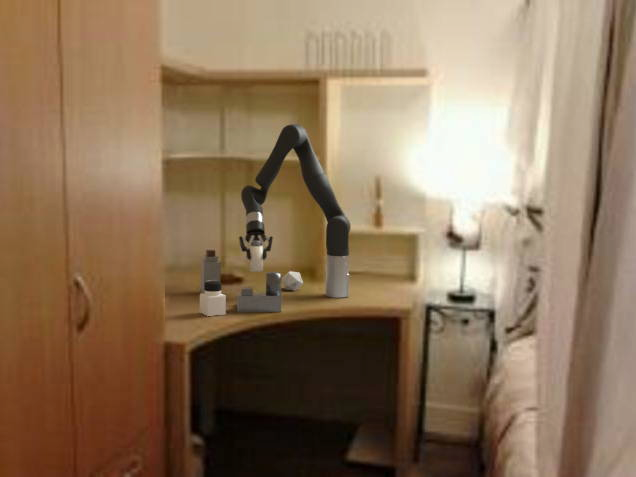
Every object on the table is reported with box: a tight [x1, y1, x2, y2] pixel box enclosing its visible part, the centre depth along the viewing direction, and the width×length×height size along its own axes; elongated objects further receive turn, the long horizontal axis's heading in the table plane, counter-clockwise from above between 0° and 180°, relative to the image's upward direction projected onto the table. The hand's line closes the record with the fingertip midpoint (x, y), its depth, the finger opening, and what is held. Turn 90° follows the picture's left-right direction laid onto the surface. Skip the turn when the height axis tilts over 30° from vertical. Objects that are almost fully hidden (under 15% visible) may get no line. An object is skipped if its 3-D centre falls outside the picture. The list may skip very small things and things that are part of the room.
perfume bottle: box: [200, 249, 222, 294], centre depth 268 cm, size 7×7×18 cm
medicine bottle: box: [199, 280, 227, 317], centre depth 233 cm, size 7×7×12 cm
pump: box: [249, 240, 264, 273], centre depth 259 cm, size 5×5×12 cm
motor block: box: [236, 271, 283, 313], centre depth 244 cm, size 16×13×14 cm
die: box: [281, 270, 304, 292], centre depth 281 cm, size 8×9×10 cm
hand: (256, 258), depth 258 cm, fingers closed on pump, 5 cm apart
